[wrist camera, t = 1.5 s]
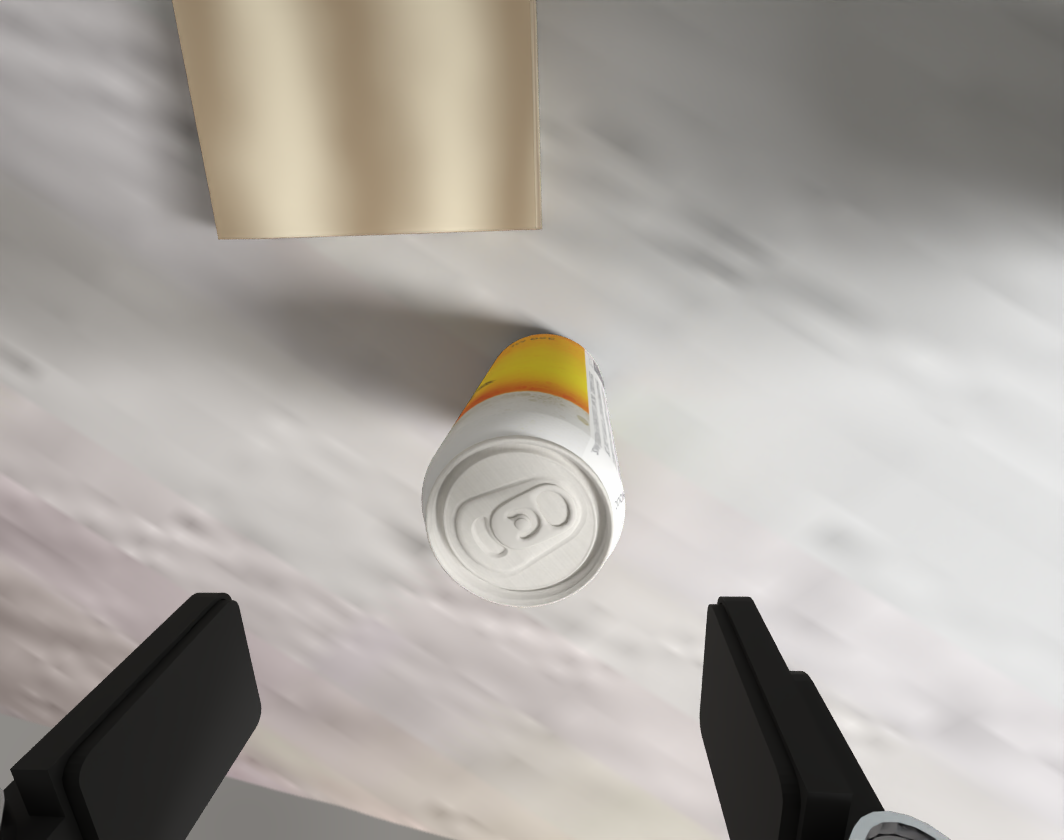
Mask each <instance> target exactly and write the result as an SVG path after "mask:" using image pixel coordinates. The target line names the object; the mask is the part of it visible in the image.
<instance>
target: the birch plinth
mask: <svg viewBox="0 0 1064 840" xmlns="http://www.w3.org/2000/svg"><path fill="white" fill-rule="evenodd" d="M172 3H173V8H174V13H175V18H176V23H177V28H178V34H179V39H180V44H181V49H182V54H183V59H184V64H185V70H186V75H187V80H188V85H189V90H190V95H191V100H192V105H193V111H194V116H195V121H196V126H197V131H198V136H199V141H200V147H201V152H202V157H203V162H204V167H205V172H206V177H207V182H208V188H209V193H210V198H211V203H212V208H213V213H214V218H215V224H216V229H217V234H218V239H276V238H305V237H334V236H363V235H392V234H422V233H451V232H480V231H509V230H538V229H542V212H541V172H540V132H539V92H538V52H537V11H536V0H172Z"/></svg>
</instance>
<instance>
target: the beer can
mask: <svg viewBox="0 0 1064 840" xmlns="http://www.w3.org/2000/svg"><path fill="white" fill-rule="evenodd" d="M422 512H423V517H424V522H425V525H426V532H427V537H428V540H429V543H430V547H431V549H432V551H433V553H434V555H435V557H436V559H437V561H438V562H439V564H440V565H441V567H442V568H443V569H444V571H445V572H446V573H447V574H448V575H449V576H450V577H451V578H452V579H453V580H454V581H455V582H456V583H457V584H459V585H460V586H461V587H462V588H464V589H465V590H467V591H468V592H470V593H472V594H474V595H476V596H477V597H479V598H482V599H484V600H487V601H489V602H493V603H496V604H500V605H505V606H511V607H537V606H543V605H548V604H552V603H555V602H558V601H561V600H563V599H565V598H568V597H570V596H571V595H573V594H575V593H577V592H578V591H579V590H581V589H582V588H583V587H585V586H586V585H587V584H588V583H589V582H590V581H591V580H592V579H593V578H594V577H595V576H596V575H597V573H598V572H599V571H600V569H601V568H602V566H603V565H604V563H605V561H606V560H607V559H608V558H609V556H610V555H611V553H612V551H613V550H614V548H615V546H616V544H617V542H618V540H619V538H620V535H621V532H622V529H623V524H624V519H625V496H624V491H623V485H622V480H621V474H620V469H619V463H618V458H617V453H616V447H615V442H614V436H613V431H612V426H611V420H610V415H609V409H608V404H607V399H606V393H605V388H604V382H603V377H602V374H601V371H600V369H599V367H598V365H597V363H596V362H595V360H594V359H593V357H592V356H591V355H590V354H589V353H588V352H587V351H586V350H585V349H584V348H583V347H582V346H580V345H579V344H577V343H576V342H574V341H572V340H570V339H568V338H565V337H562V336H559V335H553V334H537V335H531V336H527V337H524V338H522V339H519V340H517V341H516V342H514V343H512V344H511V345H509V346H508V347H507V348H506V349H505V350H504V351H502V353H501V354H500V355H499V356H498V357H497V359H496V360H495V362H494V363H493V365H492V367H491V368H490V370H489V371H488V373H487V374H486V376H485V377H484V379H483V381H482V382H481V384H480V385H479V387H478V388H477V390H476V391H475V393H474V395H473V396H472V398H471V399H470V401H469V402H468V404H467V405H466V407H465V409H464V410H463V412H462V413H461V415H460V416H459V418H458V419H457V421H456V423H455V424H454V426H453V427H452V429H451V430H450V432H449V433H448V435H447V437H446V438H445V440H444V441H443V443H442V444H441V446H440V447H439V449H438V451H437V452H436V454H435V455H434V457H433V458H432V460H431V462H430V464H429V466H428V469H427V472H426V475H425V478H424V482H423V487H422Z"/></svg>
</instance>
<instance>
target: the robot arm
mask: <svg viewBox="0 0 1064 840" xmlns="http://www.w3.org/2000/svg"><path fill="white" fill-rule="evenodd" d="M260 715H261V703H260V698H259V694H258V689H257V685H256V680H255V676H254V671H253V667H252V662H251V658H250V653H249V649H248V645H247V640H246V636H245V631H244V627H243V622H242V618H241V613H240V609H239V605H238V603H237V602H236V601H233V600H232V599H231V597H230V596H229V595H228V594H226V593H196V594H194V595H192V596H191V597H190V598H189V599H188V600H187V601H186V602H185V603H184V604H182V605H181V606H180V607H179V608H178V609H177V610H176V611H175V612H174V613H173V614H172V615H171V616H170V617H169V618H168V619H167V620H166V621H165V622H164V623H163V624H162V625H160V626H159V627H158V628H157V629H156V630H155V631H154V632H153V633H152V634H151V635H150V636H149V637H148V638H147V639H146V640H145V641H144V642H143V643H142V644H141V645H140V646H139V647H137V648H136V649H135V650H134V651H133V652H132V653H131V654H130V655H129V656H128V657H127V658H126V659H125V660H124V661H123V662H122V663H121V664H120V665H119V666H118V667H117V668H115V669H114V670H113V671H112V672H111V673H110V674H109V675H108V676H107V677H106V678H105V679H104V680H103V681H102V682H101V683H100V684H99V685H98V686H97V687H96V688H95V689H94V690H92V691H91V692H90V693H89V694H88V695H87V696H86V697H85V698H84V699H83V700H82V701H81V702H80V703H79V704H78V705H77V706H76V707H75V708H74V709H73V710H72V711H70V712H69V713H68V714H67V715H66V716H65V717H64V718H63V719H62V720H61V721H60V722H59V723H58V724H57V725H56V726H55V727H54V728H53V729H52V730H51V731H50V732H48V733H47V734H46V735H45V736H44V737H43V738H42V739H41V740H40V741H39V742H38V743H37V744H36V745H35V746H34V747H33V748H32V749H31V750H30V751H29V752H28V753H27V754H26V755H24V756H23V757H22V758H21V759H20V760H19V761H18V762H17V763H16V764H15V765H14V766H13V767H12V768H11V769H10V770H11V772H12V775H13V777H14V781H12V782H11V783H10V784H9V785H8V786H7V787H6V788H5V789H4V790H2V789H1V788H0V840H185V839H186V837H187V836H188V834H189V832H190V831H191V829H192V828H193V826H194V825H195V823H196V821H197V820H198V818H199V817H200V815H201V813H202V812H203V810H204V809H205V807H206V806H207V804H208V802H209V801H210V799H211V798H212V796H213V795H214V793H215V791H216V790H217V788H218V787H219V785H220V783H221V782H222V780H223V779H224V777H225V776H226V774H227V772H228V771H229V769H230V768H231V766H232V765H233V763H234V761H235V760H236V758H237V757H238V755H239V753H240V752H241V750H242V749H243V747H244V746H245V744H246V742H247V741H248V739H249V738H250V736H251V735H252V733H253V731H254V730H255V728H256V726H257V725H258V722H259V719H260ZM700 728H701V734H702V738H703V742H704V746H705V749H706V753H707V757H708V760H709V764H710V768H711V771H712V775H713V779H714V782H715V786H716V790H717V793H718V797H719V801H720V804H721V808H722V812H723V815H724V819H725V822H726V826H727V830H728V833H729V837H730V840H950V839H949V838H948V837H947V836H945V835H944V834H942V833H941V832H939V831H938V830H936V829H935V828H933V827H932V826H930V825H929V824H927V823H925V822H922V821H920V820H918V819H916V818H913V817H911V816H909V815H905V814H901V813H896V812H892V811H885V810H884V808H883V807H882V805H881V803H880V801H879V799H878V798H877V796H876V794H875V792H874V790H873V789H872V787H871V785H870V783H869V782H868V780H867V778H866V776H865V774H864V773H863V771H862V769H861V767H860V765H859V764H858V762H857V760H856V758H855V756H854V755H853V753H852V751H851V749H850V747H849V746H848V744H847V742H846V740H845V738H844V737H843V735H842V733H841V731H840V730H839V728H838V726H837V724H836V722H835V721H834V719H833V717H832V715H831V713H830V712H829V710H828V708H827V706H826V704H825V703H824V701H823V699H822V697H821V695H820V694H819V692H818V690H817V688H816V686H815V685H814V683H813V681H812V680H811V678H810V677H809V675H808V674H806V673H805V672H803V671H789V669H788V667H787V665H786V663H785V661H784V659H783V658H782V656H781V654H780V652H779V650H778V648H777V646H776V644H775V642H774V640H773V638H772V636H771V634H770V632H769V630H768V629H767V627H766V625H765V623H764V621H763V619H762V617H761V615H760V613H759V611H758V609H757V607H756V605H755V603H754V601H753V600H752V599H751V598H750V597H719V599H718V602H717V604H710V605H709V606H708V611H707V624H706V637H705V650H704V664H703V677H702V690H701V703H700Z"/></svg>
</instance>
